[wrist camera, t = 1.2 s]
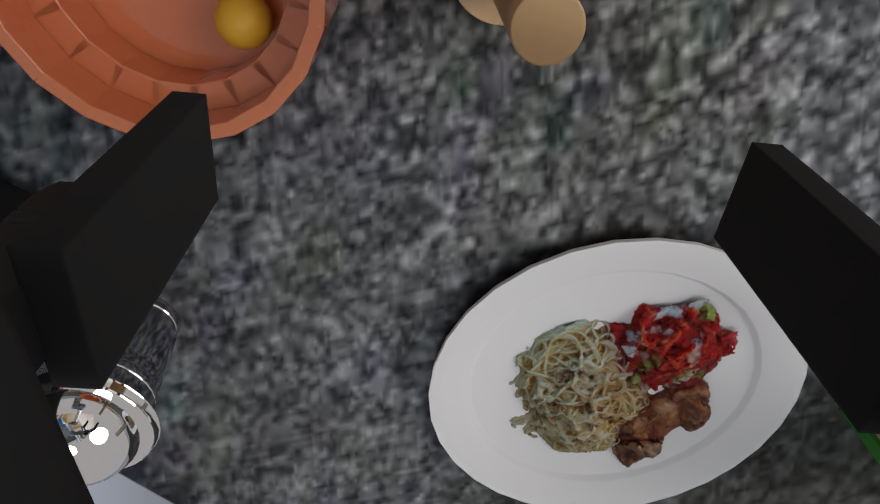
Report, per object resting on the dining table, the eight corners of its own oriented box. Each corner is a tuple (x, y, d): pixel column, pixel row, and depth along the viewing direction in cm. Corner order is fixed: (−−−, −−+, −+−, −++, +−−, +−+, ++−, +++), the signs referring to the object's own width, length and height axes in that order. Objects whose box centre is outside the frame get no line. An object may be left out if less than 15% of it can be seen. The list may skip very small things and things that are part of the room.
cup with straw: (166, 376, 50) (33, 641, 33) (62, 313, 46) (-146, 576, 29) (229, 321, 47) (118, 581, 30) (124, 248, 43) (-69, 500, 26)
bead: (221, -19, 33) (204, -9, 31) (278, -11, 33) (265, 0, 31) (224, 37, 35) (208, 52, 32) (278, 45, 35) (266, 60, 32)
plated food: (396, 468, 57) (394, 501, 54) (485, 186, 41) (489, 211, 38) (691, 510, 61) (704, 542, 58) (876, 270, 45) (906, 298, 42)
